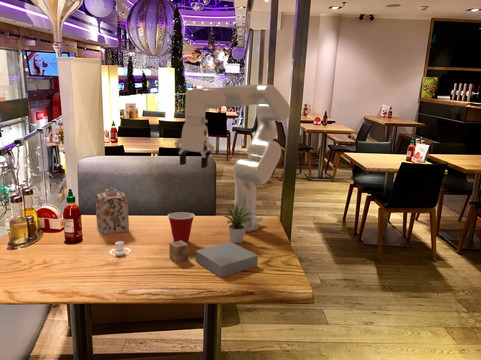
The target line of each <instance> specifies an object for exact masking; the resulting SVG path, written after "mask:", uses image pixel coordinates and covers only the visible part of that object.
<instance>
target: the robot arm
mask: <svg viewBox="0 0 481 360" xmlns="http://www.w3.org/2000/svg"><path fill="white" fill-rule="evenodd" d="M185 91H186V92H185V107H184V109H185V115H184V124H183V127H182V130H181V138H180V140H177V141H175V142H174V146H175V149H176V151H177V152H178V155H179V165H181V166H183V165H186V164H187V154H186V153H187V152H193V153H194V152H195V153H200V154H201V156H202V157H201V162H200V166H201V169H206V168H208V163H209V157H210V156H211V155H212V154H213V152H214V149H215V146H214V145H212V144H211V143H210V142H209V133H208V132H209V130H208V126H207V125H206V124H207V123H209V122H208V119H206V109H211V110H218V109H221V108H223V107H231V108H233V107H234V108H235V107H236V108H237V107H244V106H255V105H256V108H255V115H256V119H257V129H256V131H255V133H254V135H253V136H252V138H251V140H250V142H249V145H248V146H247V150H246V154H247V157H248V158H241V159H238V160H236V162H235V163H234V165H233V169H232V171H233V177H234V190H235V191H234V206H235V205H236V202H237V205H238V208H239V209H238V213H239V211H240V209H241V208H242V207H243V206H244V205H245V206H244V208H243V210H242V212H243V211H244V210H245V208H247V207H249V206H250V207H249V208H248V209H247V211H249V213H256V210H257V208H256V206H257V187H256V184H258V185H262V184H263V185H264V184H266V183H267V182H268V181H269V180H270V179H271V177H272V175H273V173H274V170H276V167H277V165H278V163H279V161H280V158H281V156H282V147H281V145H280V143H278V142H277V141H274V138H275V135H276V129H275V125H274V122H273V121H276V122H284V121H286V120H288V119H289V118H290V116H291V107H290V105H289V103H288V101H287V100H286V99H285V97H284V95H282V93H281V92H280V91H279V90H278V89H277V88H276V86H274V85H272V84H265V83H264V84H261V83H260V84H259V83H258V84H257V83H255V84H242V85H229V86H221V87H219V86H218V87H209V88H206V87H205V88H198V87H197V88H195V87H188V88H187V89H186V90H185ZM249 158H250V159H249ZM250 210H252V211H250ZM247 211H246V212H247ZM246 212H245V214H246ZM249 213H248V212H247V214H249ZM234 216H235V215H234ZM246 217H249V218H250V221H245V222H246V224H245V223H242V225H245V227H246V228H245V233H252V232H255V231H257V230H258V229H259V224H258V223H259V222H263V221H264V218H263V216H258V217H257V216H256V214H250V215H247V216H245V217H244V218H246ZM244 218H243V219H244ZM249 218H246V219H249ZM243 219H242V220H243ZM246 219H244V220H246ZM244 220H243V221H244ZM251 220H252V221H251Z"/></svg>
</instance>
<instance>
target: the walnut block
mask: <svg viewBox="0 0 481 360" xmlns="http://www.w3.org/2000/svg"><path fill="white" fill-rule="evenodd" d="M169 259H170V260H171V261H173V262H174V263H176V264H179V263H181V262H184V261H189V243H188V244H187V243H185V242H183V241H182V240H181V241H177V242H174V241H172V242H169Z"/></svg>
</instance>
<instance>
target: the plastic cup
mask: <svg viewBox="0 0 481 360" xmlns="http://www.w3.org/2000/svg"><path fill="white" fill-rule="evenodd" d="M195 216H196V215H195V214H194V213H191V212H185V211H181V212H179V211H178V212H172V213H168V214H167V217H168V220H169V225H170V229H171V236H172V238H173V239H172V240H173V242H177V241H181V240H182V241H183V242H185V243H187V244H188V245H189V241H190V235H191V231H192V224H193V221H194V218H195Z"/></svg>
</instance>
